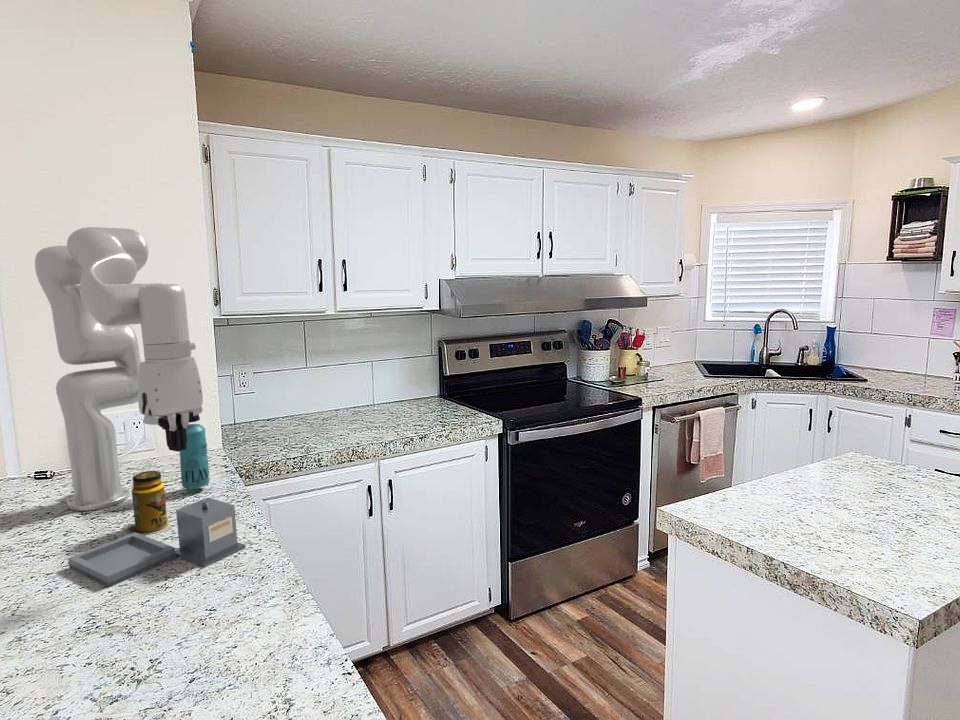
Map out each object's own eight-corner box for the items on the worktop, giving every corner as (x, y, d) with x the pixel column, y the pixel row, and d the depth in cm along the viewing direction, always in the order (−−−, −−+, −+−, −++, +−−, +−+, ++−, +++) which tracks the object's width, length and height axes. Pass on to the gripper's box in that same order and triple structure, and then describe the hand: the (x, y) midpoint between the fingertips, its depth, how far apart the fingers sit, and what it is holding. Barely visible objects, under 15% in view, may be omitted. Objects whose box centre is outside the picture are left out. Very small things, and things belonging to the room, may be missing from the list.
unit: (172, 554, 115) (167, 506, 113) (213, 536, 123) (209, 491, 121) (204, 567, 110) (200, 517, 108) (245, 547, 117) (241, 500, 116)
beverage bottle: (182, 496, 144) (175, 416, 141) (181, 487, 150) (174, 410, 147) (211, 492, 147) (205, 413, 144) (209, 483, 153) (203, 407, 150)
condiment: (171, 529, 126) (166, 475, 124) (125, 540, 121) (119, 484, 120) (167, 517, 132) (162, 466, 130) (123, 527, 127) (117, 473, 126)
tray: (69, 568, 110) (68, 558, 110) (136, 541, 120) (135, 532, 120) (108, 587, 103) (107, 576, 103) (175, 557, 114) (174, 547, 113)
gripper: (193, 346, 116) (201, 437, 119) (114, 356, 104) (125, 458, 106) (217, 348, 112) (225, 442, 115) (138, 358, 100) (149, 463, 102)
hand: (177, 449), depth 110 cm, fingers closed
